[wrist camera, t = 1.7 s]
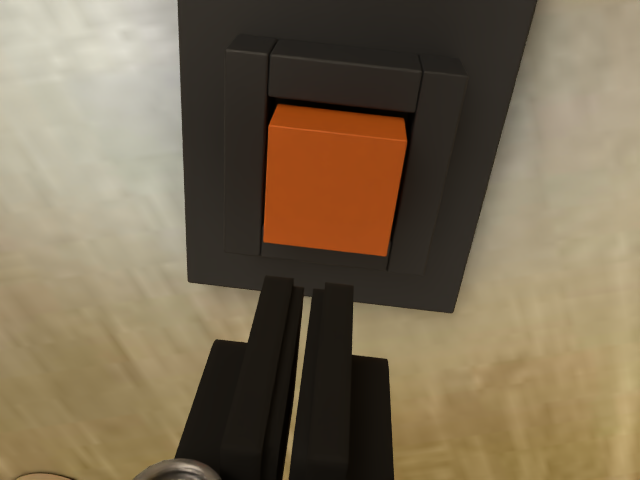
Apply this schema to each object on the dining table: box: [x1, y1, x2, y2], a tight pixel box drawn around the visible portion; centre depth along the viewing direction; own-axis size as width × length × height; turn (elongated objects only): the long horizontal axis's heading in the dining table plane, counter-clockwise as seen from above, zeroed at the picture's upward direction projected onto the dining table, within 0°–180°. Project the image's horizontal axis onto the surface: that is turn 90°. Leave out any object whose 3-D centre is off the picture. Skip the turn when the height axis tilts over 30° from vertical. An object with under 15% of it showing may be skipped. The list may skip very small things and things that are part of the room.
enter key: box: [263, 104, 407, 256], centre depth 17 cm, size 4×4×2 cm
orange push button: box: [178, 0, 537, 313], centre depth 18 cm, size 12×10×3 cm
